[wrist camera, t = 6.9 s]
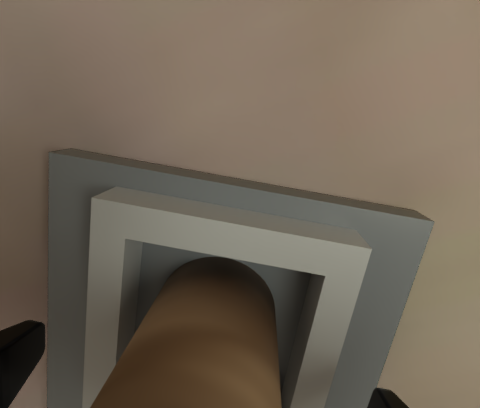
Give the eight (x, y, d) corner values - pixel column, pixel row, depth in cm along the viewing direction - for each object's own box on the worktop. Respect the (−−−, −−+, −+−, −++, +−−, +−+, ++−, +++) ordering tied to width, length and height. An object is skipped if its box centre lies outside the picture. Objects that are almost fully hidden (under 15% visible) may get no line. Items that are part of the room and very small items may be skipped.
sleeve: (289, 266, 10) (341, 548, 4) (265, 371, 11) (269, 739, 5) (163, 243, 10) (-25, 473, 4) (151, 349, 11) (-9, 678, 5)
